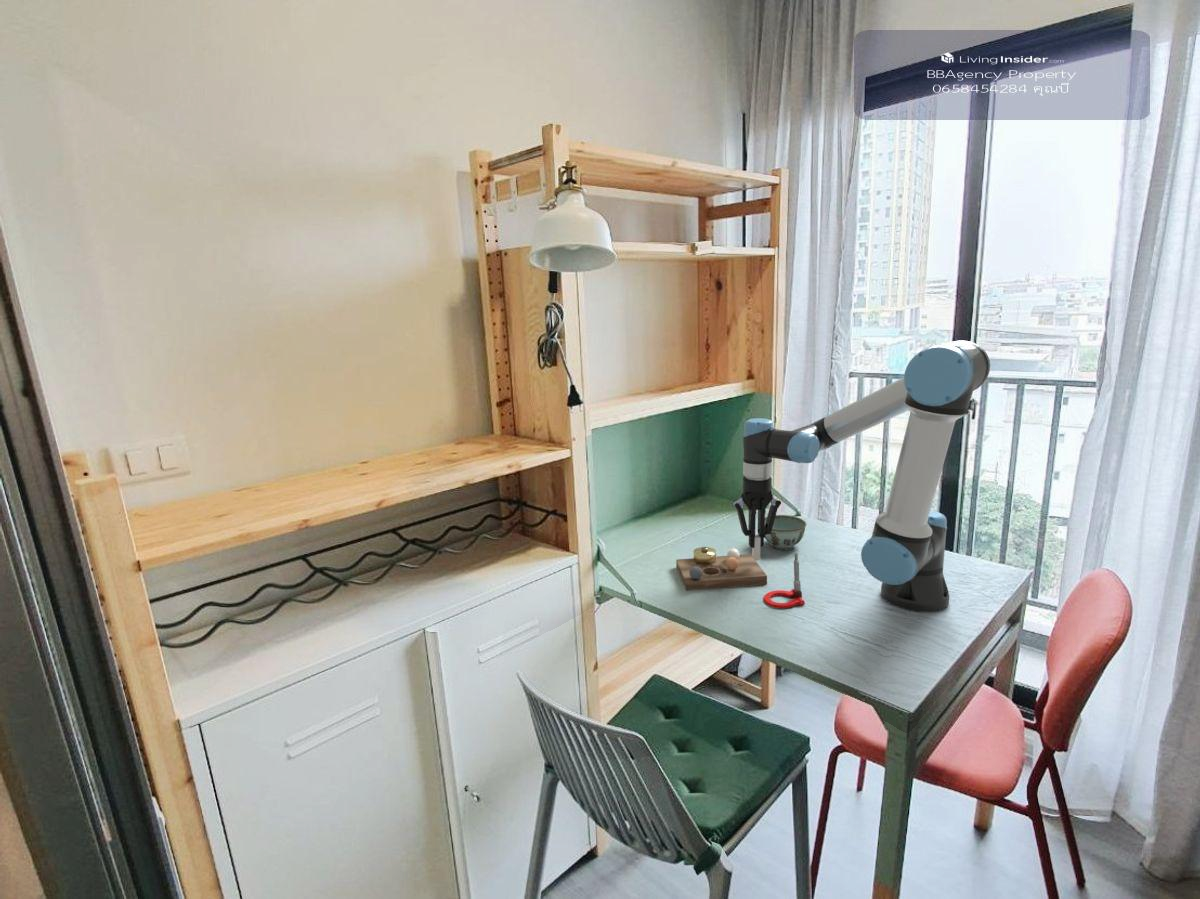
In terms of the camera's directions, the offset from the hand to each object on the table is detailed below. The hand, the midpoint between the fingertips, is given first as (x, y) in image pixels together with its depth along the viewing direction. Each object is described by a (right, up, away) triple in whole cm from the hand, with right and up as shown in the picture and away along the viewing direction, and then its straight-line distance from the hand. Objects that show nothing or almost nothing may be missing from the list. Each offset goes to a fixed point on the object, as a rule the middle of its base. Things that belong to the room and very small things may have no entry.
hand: (756, 557), depth 167 cm
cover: (-13, -2, +7) cm, 15 cm away
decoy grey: (-17, -3, -5) cm, 18 cm away
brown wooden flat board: (-10, -5, +2) cm, 11 cm away
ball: (-7, -2, 0) cm, 7 cm away
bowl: (+13, 0, +20) cm, 24 cm away
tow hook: (+3, -9, -14) cm, 16 cm away
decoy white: (-5, 0, +6) cm, 8 cm away
